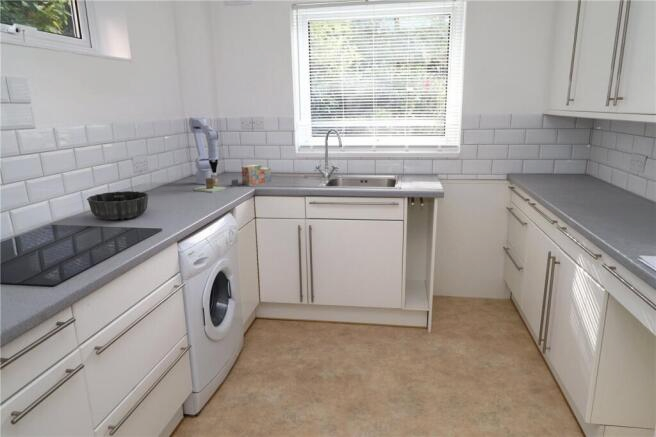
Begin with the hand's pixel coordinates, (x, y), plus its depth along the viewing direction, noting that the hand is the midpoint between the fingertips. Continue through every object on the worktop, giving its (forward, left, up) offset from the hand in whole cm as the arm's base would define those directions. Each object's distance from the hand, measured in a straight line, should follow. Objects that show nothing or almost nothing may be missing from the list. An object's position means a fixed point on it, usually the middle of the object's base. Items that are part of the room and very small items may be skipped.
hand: (214, 171), depth 278 cm
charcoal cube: (+7, +11, -10) cm, 17 cm away
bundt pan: (+13, -78, -10) cm, 79 cm away
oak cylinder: (-2, +2, -10) cm, 10 cm away
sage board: (+3, -8, -10) cm, 13 cm away
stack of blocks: (+13, +27, -10) cm, 31 cm away
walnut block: (+3, -8, -9) cm, 12 cm away
